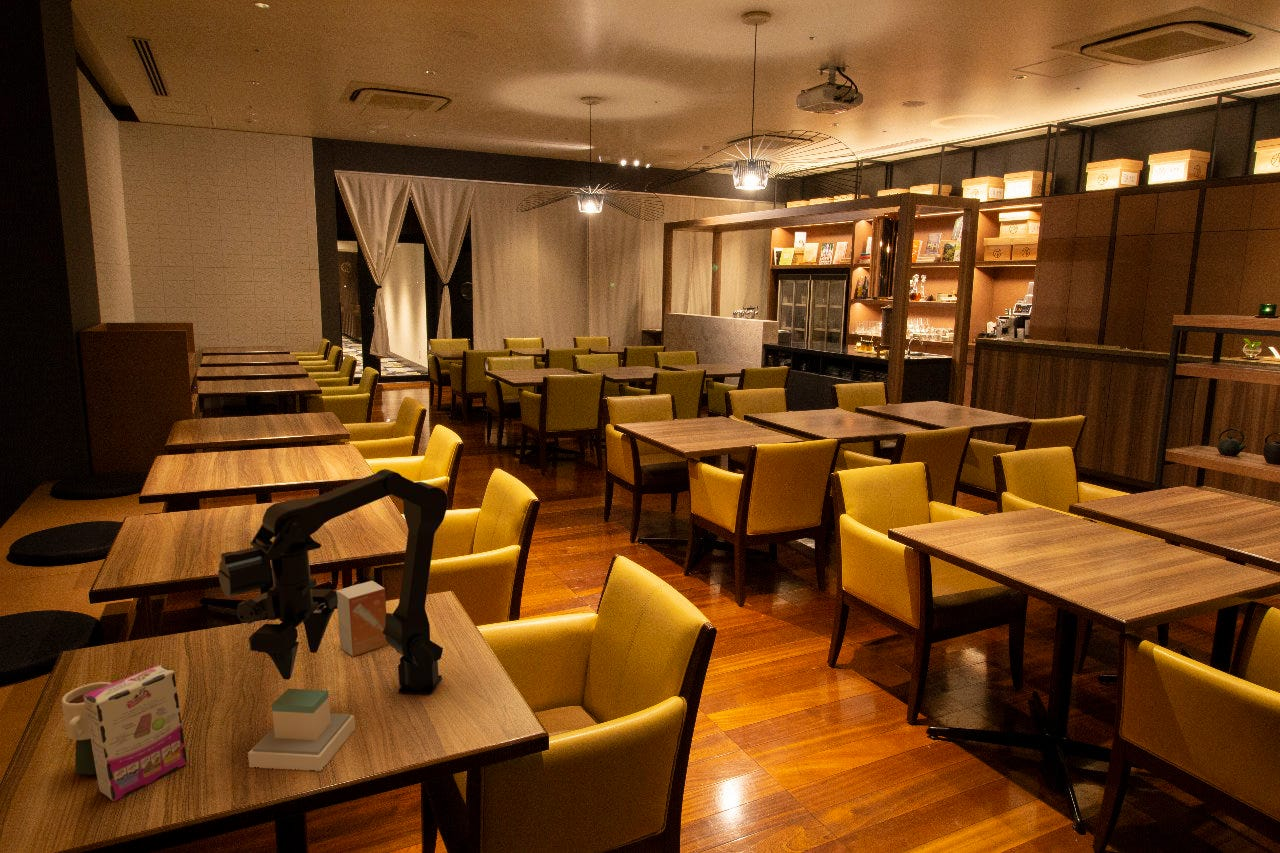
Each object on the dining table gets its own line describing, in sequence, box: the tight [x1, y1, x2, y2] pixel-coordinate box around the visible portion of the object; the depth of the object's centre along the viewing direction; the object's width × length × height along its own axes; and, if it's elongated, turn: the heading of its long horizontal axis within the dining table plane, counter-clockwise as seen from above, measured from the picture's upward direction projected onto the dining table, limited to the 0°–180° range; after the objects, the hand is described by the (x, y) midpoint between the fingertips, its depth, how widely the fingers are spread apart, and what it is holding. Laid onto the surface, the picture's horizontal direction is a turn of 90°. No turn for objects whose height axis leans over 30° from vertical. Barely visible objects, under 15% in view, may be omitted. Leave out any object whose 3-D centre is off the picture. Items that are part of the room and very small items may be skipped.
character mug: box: [61, 681, 113, 776], centre depth 123 cm, size 11×7×13 cm, turn 8°
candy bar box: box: [83, 664, 188, 802], centre depth 120 cm, size 11×5×16 cm, turn 148°
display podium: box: [247, 712, 356, 772], centre depth 129 cm, size 12×12×3 cm
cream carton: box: [271, 688, 331, 740], centre depth 128 cm, size 5×7×6 cm
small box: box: [335, 580, 389, 658], centre depth 164 cm, size 8×6×13 cm
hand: (300, 665), depth 132 cm, fingers open, 9 cm apart
